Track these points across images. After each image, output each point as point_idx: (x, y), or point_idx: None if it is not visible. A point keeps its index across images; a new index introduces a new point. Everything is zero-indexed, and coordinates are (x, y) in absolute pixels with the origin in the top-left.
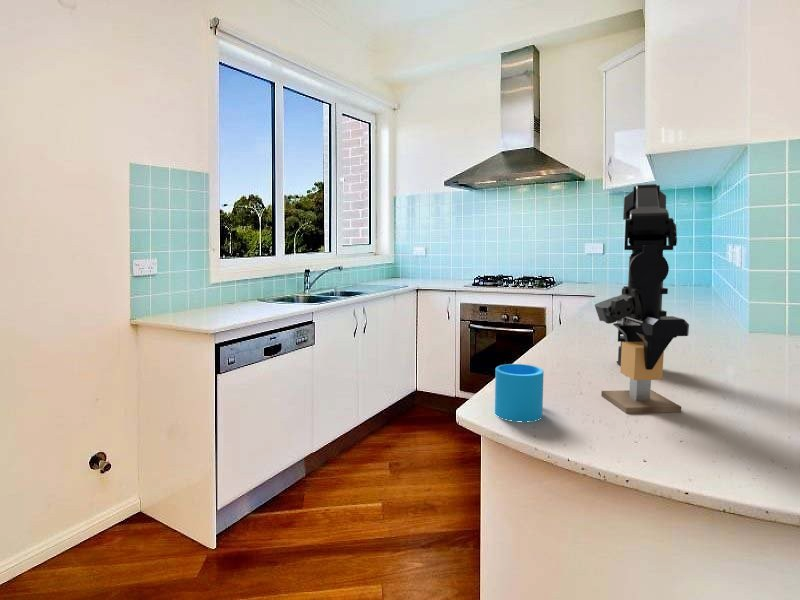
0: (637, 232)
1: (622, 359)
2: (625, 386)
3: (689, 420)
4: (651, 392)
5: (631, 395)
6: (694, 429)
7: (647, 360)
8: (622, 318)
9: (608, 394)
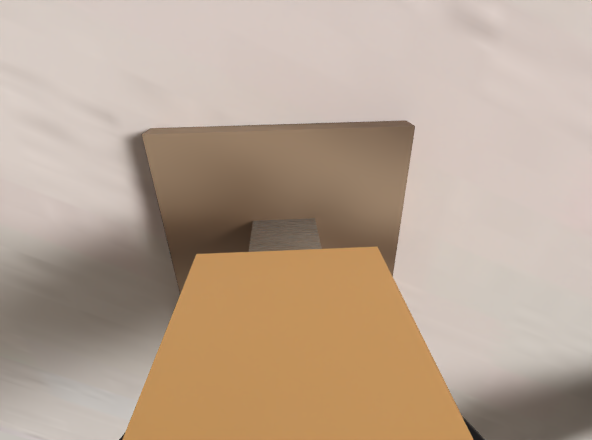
0: None
1: (385, 315)
2: (500, 271)
3: (111, 308)
4: None
5: (296, 223)
6: (18, 286)
7: (123, 434)
8: None
9: (352, 136)
